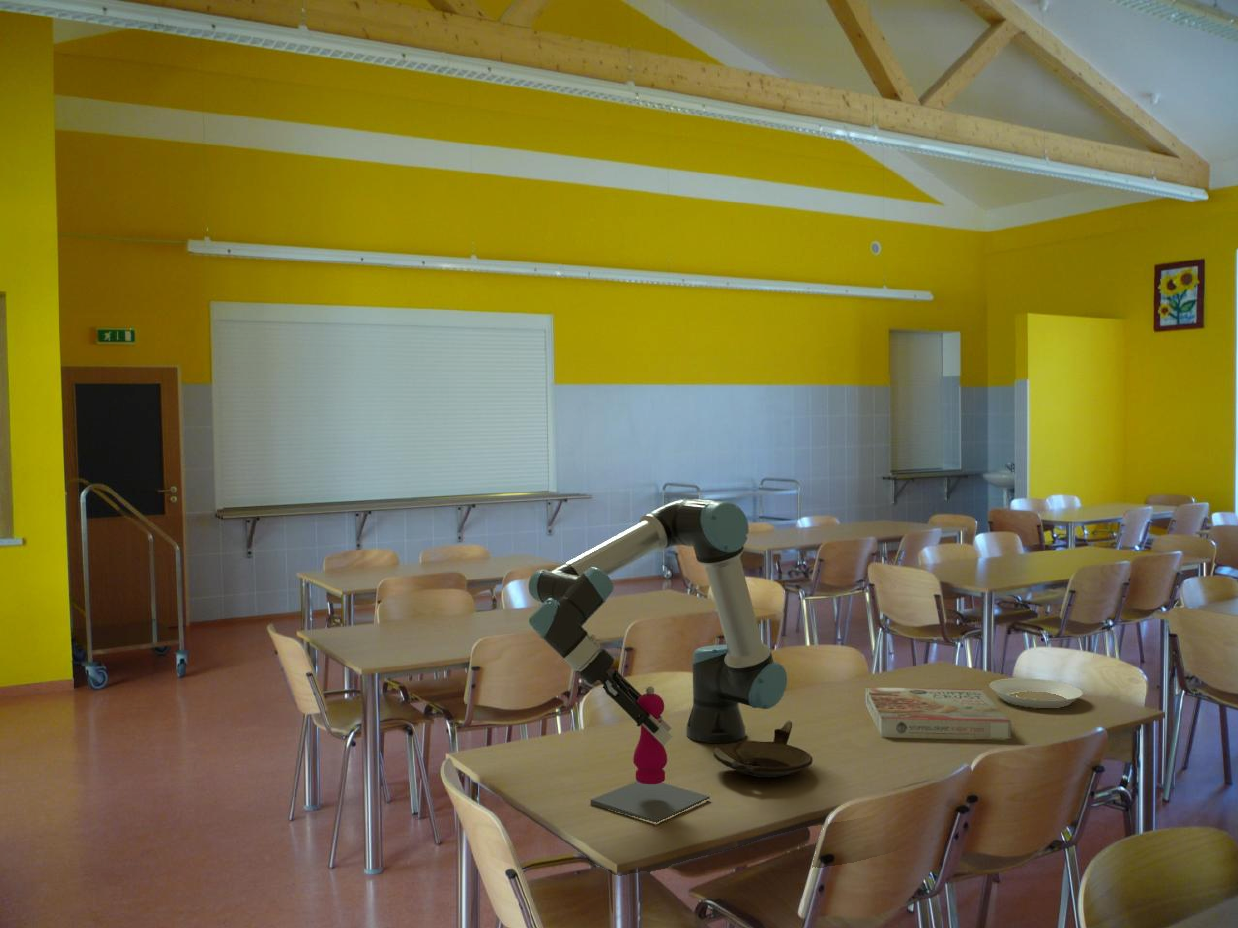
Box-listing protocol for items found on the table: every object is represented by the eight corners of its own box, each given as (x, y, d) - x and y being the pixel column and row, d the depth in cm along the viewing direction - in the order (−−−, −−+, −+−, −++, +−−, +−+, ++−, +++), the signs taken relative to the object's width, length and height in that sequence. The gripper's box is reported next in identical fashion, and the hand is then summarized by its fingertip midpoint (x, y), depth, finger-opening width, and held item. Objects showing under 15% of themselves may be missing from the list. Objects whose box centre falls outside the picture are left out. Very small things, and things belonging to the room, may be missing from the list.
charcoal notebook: (590, 804, 225) (590, 799, 225) (645, 782, 238) (645, 777, 238) (656, 825, 213) (656, 820, 213) (709, 800, 226) (709, 796, 226)
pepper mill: (638, 786, 221) (638, 691, 220) (629, 775, 228) (629, 683, 227) (671, 783, 223) (671, 689, 222) (661, 772, 230) (661, 681, 229)
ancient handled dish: (690, 773, 244) (690, 740, 244) (776, 746, 264) (776, 716, 264) (764, 799, 227) (764, 763, 227) (849, 768, 247) (850, 736, 247)
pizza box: (881, 718, 271) (865, 686, 303) (881, 739, 271) (865, 705, 303) (1011, 721, 268) (980, 689, 299) (1010, 742, 268) (980, 707, 300)
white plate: (971, 693, 314) (971, 681, 313) (1042, 687, 321) (1042, 675, 321) (1027, 716, 290) (1028, 703, 290) (1102, 708, 297) (1102, 695, 297)
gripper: (600, 657, 215) (681, 737, 215) (603, 638, 234) (678, 711, 234) (574, 682, 216) (655, 762, 216) (580, 662, 234) (654, 735, 234)
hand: (667, 736), depth 225 cm, fingers closed on pepper mill, 5 cm apart
